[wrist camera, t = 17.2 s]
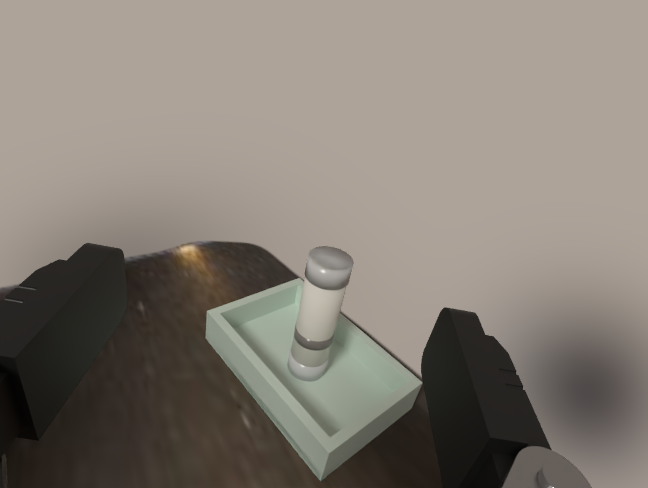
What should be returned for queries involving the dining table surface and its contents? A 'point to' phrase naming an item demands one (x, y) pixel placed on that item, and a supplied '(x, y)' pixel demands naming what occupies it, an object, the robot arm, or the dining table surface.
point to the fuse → (318, 311)
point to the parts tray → (316, 396)
